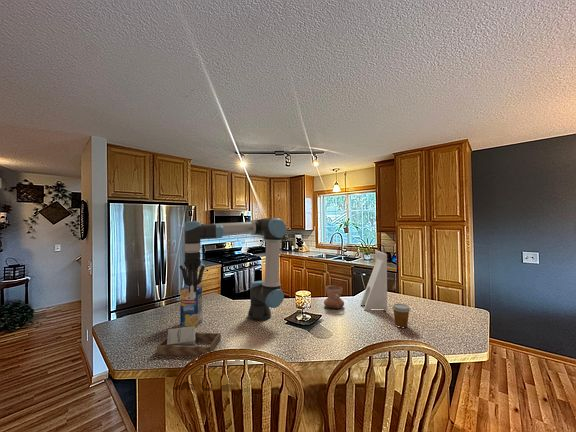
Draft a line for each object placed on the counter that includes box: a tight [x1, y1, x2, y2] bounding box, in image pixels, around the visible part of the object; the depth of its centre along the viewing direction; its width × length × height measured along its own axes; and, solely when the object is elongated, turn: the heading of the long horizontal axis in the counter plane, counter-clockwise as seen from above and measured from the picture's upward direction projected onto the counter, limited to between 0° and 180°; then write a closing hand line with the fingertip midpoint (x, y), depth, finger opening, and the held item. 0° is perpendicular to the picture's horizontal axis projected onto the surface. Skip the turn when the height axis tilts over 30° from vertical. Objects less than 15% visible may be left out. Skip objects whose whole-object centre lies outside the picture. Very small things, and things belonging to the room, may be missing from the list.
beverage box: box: [179, 285, 203, 327], centre depth 157 cm, size 7×11×22 cm, turn 86°
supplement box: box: [167, 326, 196, 346], centre depth 128 cm, size 7×7×13 cm
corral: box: [156, 331, 222, 357], centre depth 128 cm, size 26×15×4 cm, turn 87°
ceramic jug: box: [323, 285, 345, 310], centre depth 185 cm, size 18×14×14 cm
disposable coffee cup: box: [392, 303, 411, 327], centre depth 151 cm, size 10×10×12 cm
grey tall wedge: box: [359, 249, 388, 312], centre depth 183 cm, size 20×14×40 cm
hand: (193, 298), depth 128 cm, fingers closed
